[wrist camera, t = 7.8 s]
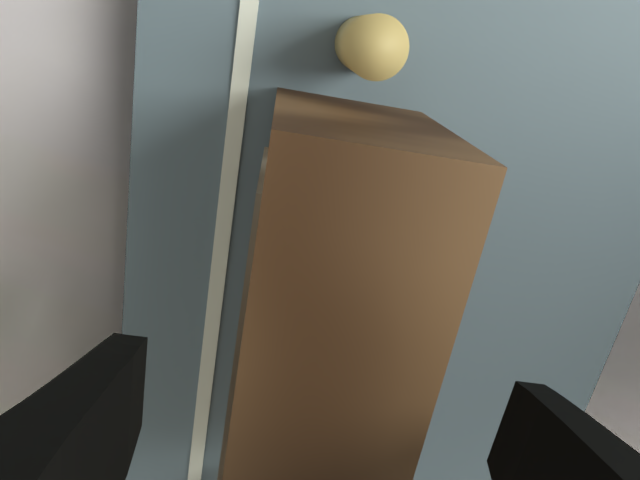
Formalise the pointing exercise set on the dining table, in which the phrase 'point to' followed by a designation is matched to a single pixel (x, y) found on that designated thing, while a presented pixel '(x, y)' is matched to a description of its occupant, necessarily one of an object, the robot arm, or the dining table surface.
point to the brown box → (352, 289)
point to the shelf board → (406, 93)
